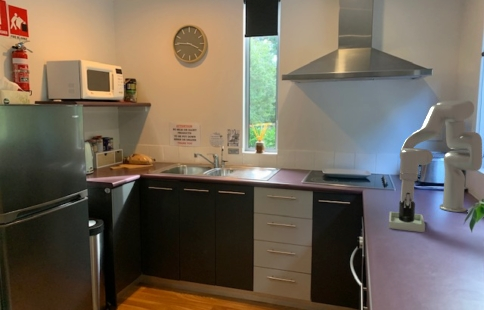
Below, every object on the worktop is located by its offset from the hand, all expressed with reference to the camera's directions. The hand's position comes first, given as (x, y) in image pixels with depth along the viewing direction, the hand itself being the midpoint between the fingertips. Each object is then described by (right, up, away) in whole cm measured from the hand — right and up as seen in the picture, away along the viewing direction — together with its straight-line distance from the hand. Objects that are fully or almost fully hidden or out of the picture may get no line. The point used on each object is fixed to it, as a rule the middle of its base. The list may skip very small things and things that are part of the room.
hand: (406, 213), depth 171 cm
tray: (0, -5, +1) cm, 5 cm away
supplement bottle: (0, -3, 0) cm, 3 cm away
